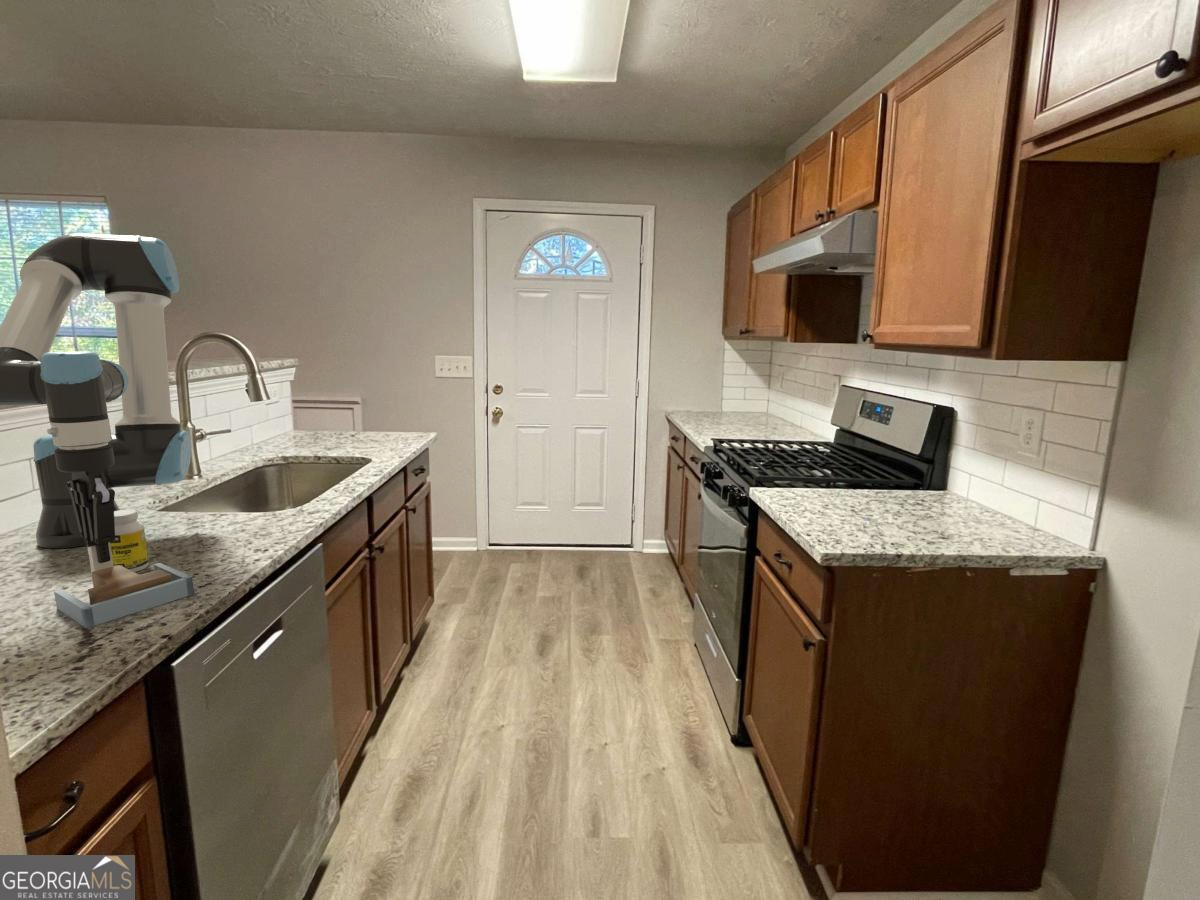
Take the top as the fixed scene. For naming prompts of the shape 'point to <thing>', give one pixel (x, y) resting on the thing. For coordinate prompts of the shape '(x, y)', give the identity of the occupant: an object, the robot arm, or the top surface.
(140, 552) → the pill bottle
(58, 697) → the top surface
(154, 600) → the dock
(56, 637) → the top surface
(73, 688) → the top surface
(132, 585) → the t block
